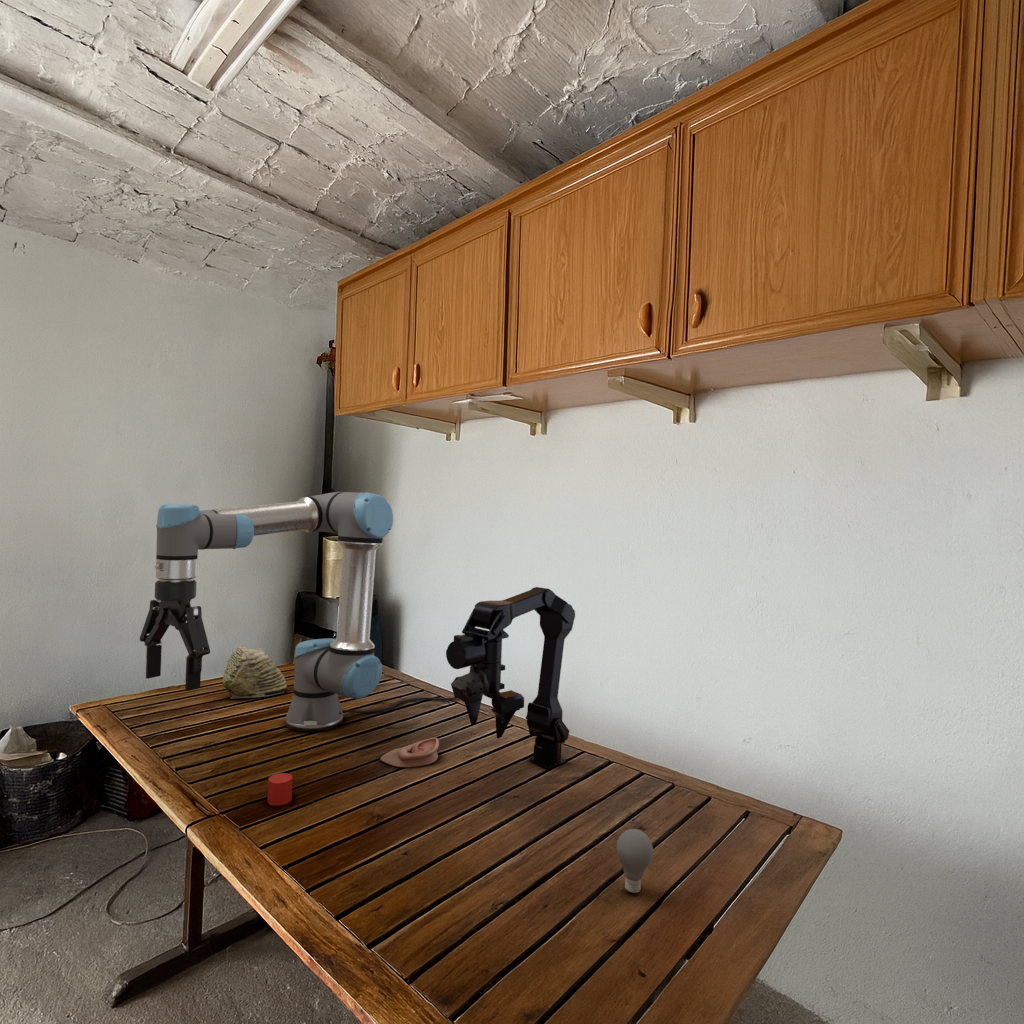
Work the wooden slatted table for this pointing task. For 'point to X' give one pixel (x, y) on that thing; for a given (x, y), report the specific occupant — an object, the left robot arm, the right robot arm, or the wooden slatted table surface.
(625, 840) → the light bulb
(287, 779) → the canister
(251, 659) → the fossil
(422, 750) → the anatomical model
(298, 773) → the wooden slatted table surface
